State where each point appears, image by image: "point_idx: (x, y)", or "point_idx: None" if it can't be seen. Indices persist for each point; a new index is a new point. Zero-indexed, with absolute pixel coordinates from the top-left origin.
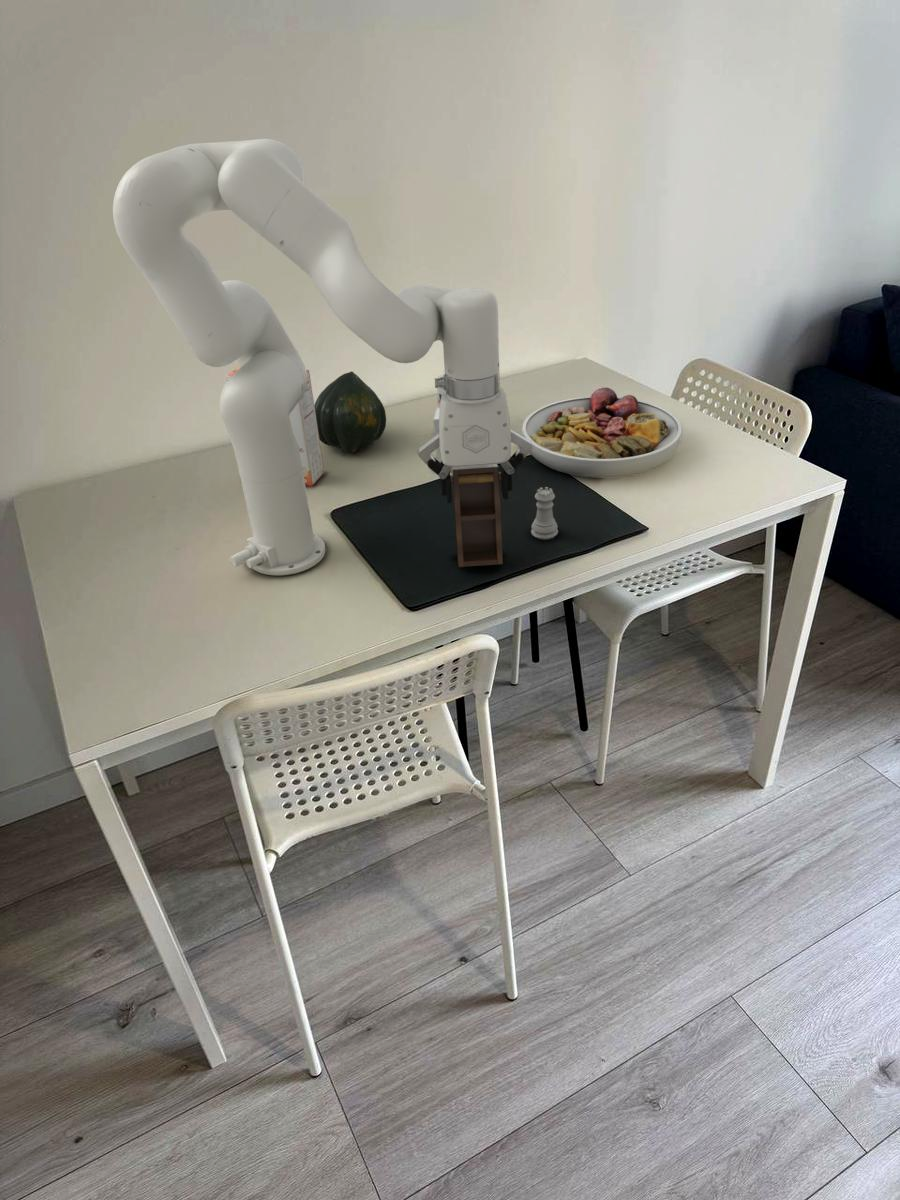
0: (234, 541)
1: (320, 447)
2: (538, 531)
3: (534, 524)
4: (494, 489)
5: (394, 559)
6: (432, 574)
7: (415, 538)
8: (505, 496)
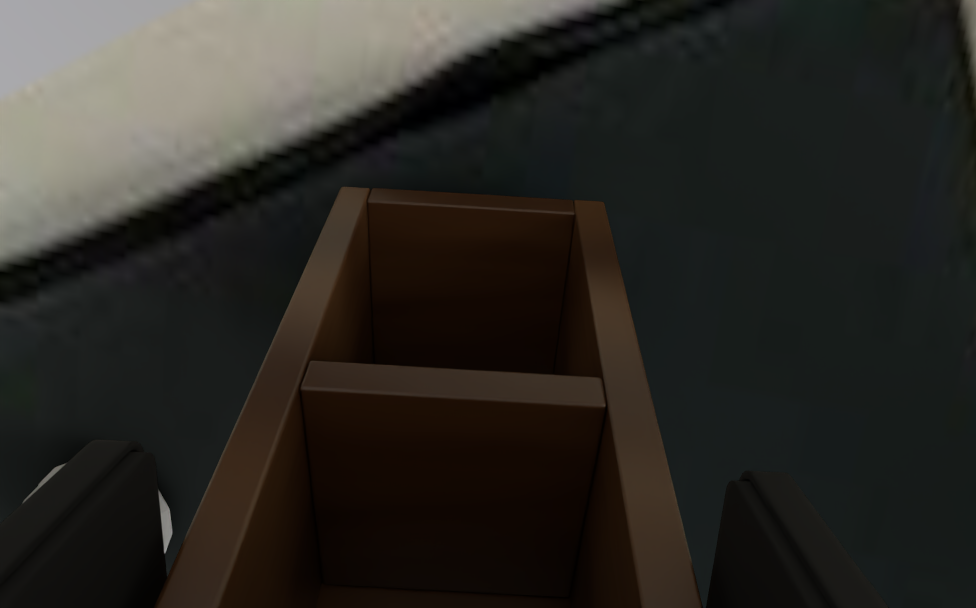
0: None
1: None
2: None
3: None
4: (222, 583)
5: (893, 422)
6: (729, 249)
7: None
8: (111, 451)
